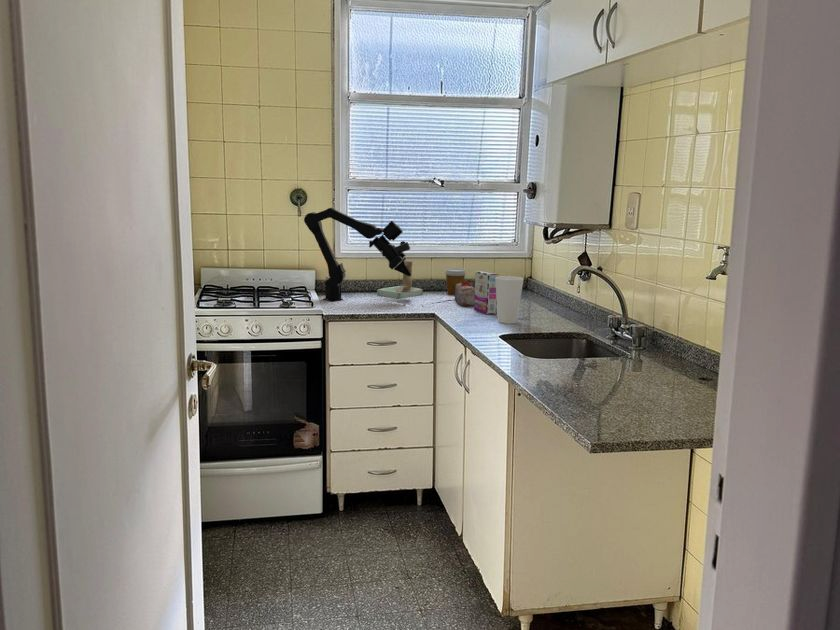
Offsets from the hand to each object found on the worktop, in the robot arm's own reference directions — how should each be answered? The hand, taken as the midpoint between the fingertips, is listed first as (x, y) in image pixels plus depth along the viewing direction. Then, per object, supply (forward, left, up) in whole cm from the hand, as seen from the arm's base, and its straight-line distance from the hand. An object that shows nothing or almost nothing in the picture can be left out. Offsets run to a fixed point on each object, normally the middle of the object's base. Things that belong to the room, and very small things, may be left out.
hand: (410, 274), depth 328 cm
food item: (+15, -18, -12) cm, 27 cm away
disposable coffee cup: (+29, -2, -12) cm, 32 cm away
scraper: (-1, +1, -7) cm, 7 cm away
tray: (+8, +13, -12) cm, 19 cm away
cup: (-5, -53, -12) cm, 55 cm away
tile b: (+13, +15, -11) cm, 23 cm away
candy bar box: (+6, -35, -12) cm, 38 cm away
